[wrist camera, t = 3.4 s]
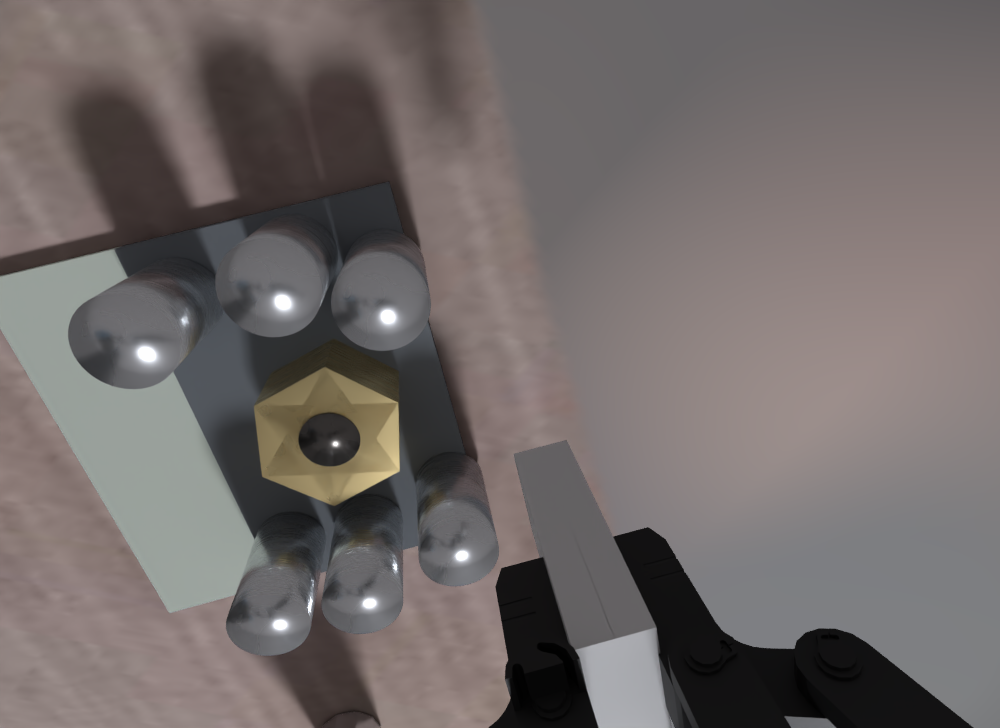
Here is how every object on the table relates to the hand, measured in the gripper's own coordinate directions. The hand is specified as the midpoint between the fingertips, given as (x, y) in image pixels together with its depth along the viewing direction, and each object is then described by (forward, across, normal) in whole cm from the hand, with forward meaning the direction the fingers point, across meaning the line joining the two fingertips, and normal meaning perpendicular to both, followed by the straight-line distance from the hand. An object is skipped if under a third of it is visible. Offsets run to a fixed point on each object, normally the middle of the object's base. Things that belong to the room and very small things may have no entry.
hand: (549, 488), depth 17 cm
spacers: (+9, -7, 0) cm, 12 cm away
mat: (+10, -10, 0) cm, 14 cm away
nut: (+9, -7, 0) cm, 12 cm away
